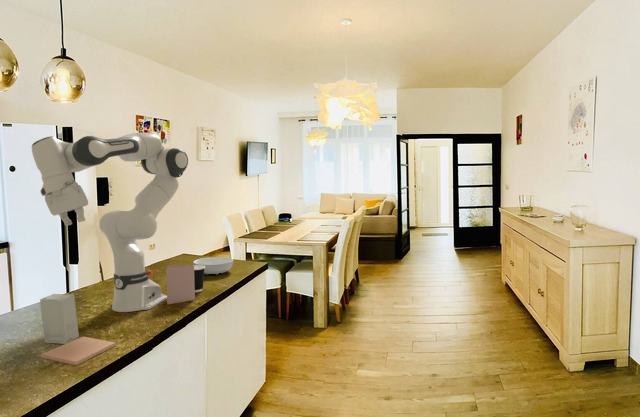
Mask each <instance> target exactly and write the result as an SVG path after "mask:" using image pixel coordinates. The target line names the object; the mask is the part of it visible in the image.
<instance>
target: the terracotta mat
mask: <svg viewBox="0 0 640 417" xmlns="http://www.w3.org/2000/svg"><path fill="white" fill-rule="evenodd" d="M116 346H117V344H116V342H115V341H109V340H104V339H99V338H93V337H88V336H81V337H80V336H79V337H78V338H77V339H75V340H73V341H70V342H69V343H66V344H62V345H60V346H57V347H55V348H53V349H51V350H47V351H45V352H43V353H41V354H40V356H41V358H42V359H46V360H51V361H56V362H59V363H65V364H70V365H75V366H78V365H79V364H81V363H84V362H85V361H88V360H90V359H92V358H94V357H96V356H97V355H99V354H101V353H104V352H106V351H108V350H110V349H113V348H114V347H116Z"/></svg>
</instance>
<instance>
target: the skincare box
mask: <svg viewBox="0 0 640 417" xmlns="http://www.w3.org/2000/svg"><path fill="white" fill-rule="evenodd" d="M75 298H76V297H75V294H73V293H70V294H60V293H57V294H56V293H53V294H50V295H48V296H46V297H42V298H40V299H39V301H40V311H41V320H42V328H43V329H42V330H43V337H44V343H45V344H62V345H64V344H66V343H69V342H71V341H73V340H76V339H78V338H80V334H79V326H78V325H79V324H78V316H77V309H76V308H77V306H76V299H75Z"/></svg>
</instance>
